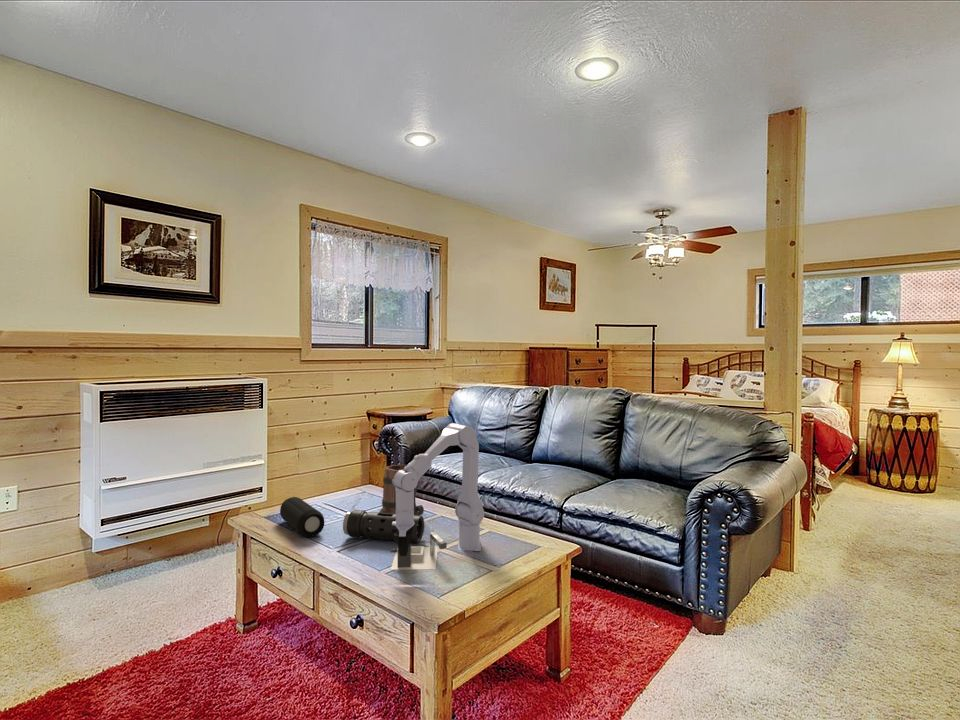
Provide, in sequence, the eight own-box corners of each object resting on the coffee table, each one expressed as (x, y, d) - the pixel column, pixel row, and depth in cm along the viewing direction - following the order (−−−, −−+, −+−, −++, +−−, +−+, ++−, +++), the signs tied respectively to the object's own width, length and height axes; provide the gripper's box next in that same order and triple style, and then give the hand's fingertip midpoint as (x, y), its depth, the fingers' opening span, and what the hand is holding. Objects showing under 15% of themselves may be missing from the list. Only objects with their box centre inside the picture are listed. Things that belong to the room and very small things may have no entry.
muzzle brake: (416, 549, 182) (416, 519, 181) (341, 542, 187) (341, 514, 187) (424, 539, 191) (424, 511, 191) (353, 533, 197) (353, 506, 196)
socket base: (397, 548, 181) (397, 541, 181) (437, 548, 182) (437, 541, 182) (390, 571, 163) (390, 563, 163) (435, 570, 164) (435, 562, 164)
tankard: (368, 514, 218) (368, 467, 217) (400, 505, 230) (400, 460, 230) (405, 528, 202) (405, 477, 202) (437, 517, 215) (437, 469, 214)
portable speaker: (326, 535, 194) (326, 509, 194) (300, 541, 188) (300, 514, 187) (302, 517, 214) (302, 493, 214) (277, 522, 208) (277, 497, 207)
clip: (440, 568, 164) (440, 543, 163) (428, 554, 174) (428, 531, 174) (446, 567, 164) (446, 542, 164) (434, 553, 175) (434, 530, 175)
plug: (390, 562, 169) (390, 543, 169) (411, 562, 169) (411, 543, 169) (389, 567, 165) (389, 548, 165) (410, 567, 165) (410, 548, 165)
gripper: (395, 501, 174) (395, 542, 174) (389, 516, 159) (389, 560, 160) (416, 501, 174) (416, 542, 174) (412, 516, 159) (412, 559, 160)
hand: (404, 550), depth 167 cm, fingers open, 7 cm apart
